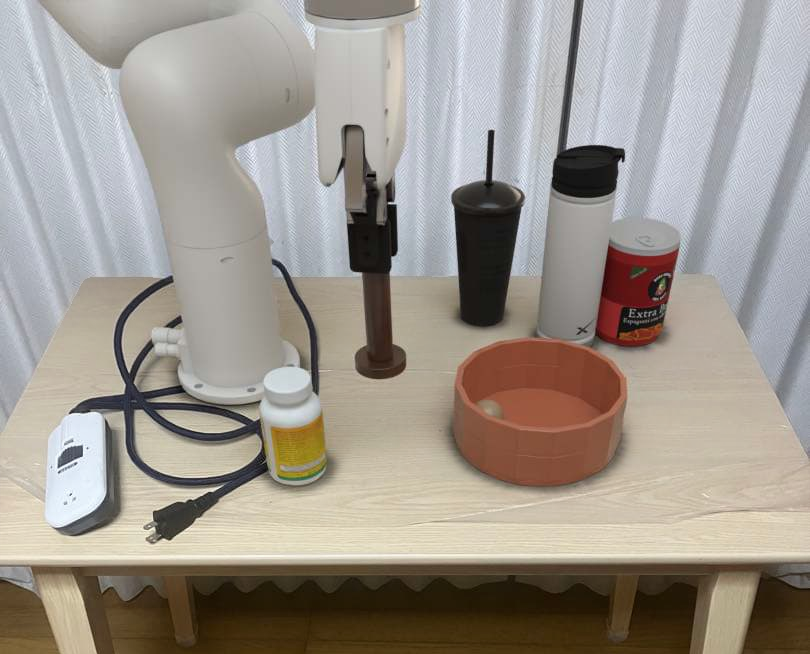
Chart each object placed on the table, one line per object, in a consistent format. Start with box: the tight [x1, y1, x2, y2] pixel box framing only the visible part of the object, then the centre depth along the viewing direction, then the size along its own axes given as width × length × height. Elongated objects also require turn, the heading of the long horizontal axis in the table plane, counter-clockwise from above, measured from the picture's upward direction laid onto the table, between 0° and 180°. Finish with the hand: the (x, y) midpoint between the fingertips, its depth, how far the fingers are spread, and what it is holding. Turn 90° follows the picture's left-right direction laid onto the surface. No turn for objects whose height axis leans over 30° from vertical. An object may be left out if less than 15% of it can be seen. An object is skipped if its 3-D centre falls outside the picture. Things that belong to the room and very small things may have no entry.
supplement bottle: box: [258, 367, 328, 486], centre depth 75 cm, size 5×5×10 cm
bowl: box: [453, 336, 628, 487], centre depth 79 cm, size 15×15×6 cm
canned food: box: [595, 217, 682, 347], centre depth 92 cm, size 8×8×11 cm
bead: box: [476, 400, 504, 420], centre depth 80 cm, size 3×3×3 cm
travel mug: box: [535, 144, 626, 348], centre depth 87 cm, size 6×7×20 cm
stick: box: [354, 189, 407, 380], centre depth 69 cm, size 4×4×15 cm
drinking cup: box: [450, 129, 526, 327], centre depth 91 cm, size 8×8×20 cm
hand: (374, 261), depth 68 cm, fingers closed on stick, 2 cm apart
